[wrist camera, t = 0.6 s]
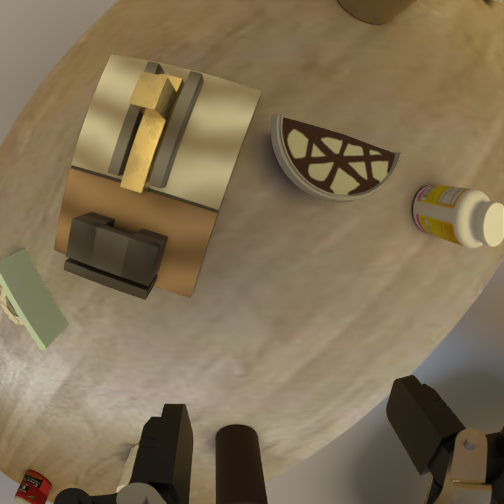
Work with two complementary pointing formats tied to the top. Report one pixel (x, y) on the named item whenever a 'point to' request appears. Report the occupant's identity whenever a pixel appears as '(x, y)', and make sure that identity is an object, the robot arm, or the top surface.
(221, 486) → the vinegar
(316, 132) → the food container
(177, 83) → the wooden t-shaped block
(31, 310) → the l-shaped corner panel
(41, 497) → the canned food
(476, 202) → the supplement bottle
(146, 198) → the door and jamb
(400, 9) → the robot arm
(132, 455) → the white cup
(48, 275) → the top surface
